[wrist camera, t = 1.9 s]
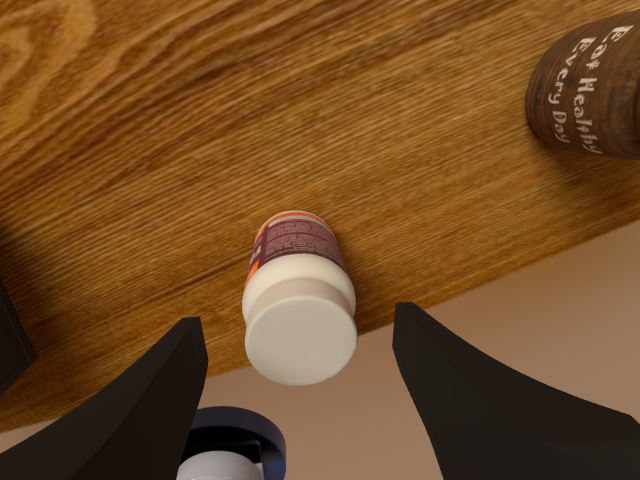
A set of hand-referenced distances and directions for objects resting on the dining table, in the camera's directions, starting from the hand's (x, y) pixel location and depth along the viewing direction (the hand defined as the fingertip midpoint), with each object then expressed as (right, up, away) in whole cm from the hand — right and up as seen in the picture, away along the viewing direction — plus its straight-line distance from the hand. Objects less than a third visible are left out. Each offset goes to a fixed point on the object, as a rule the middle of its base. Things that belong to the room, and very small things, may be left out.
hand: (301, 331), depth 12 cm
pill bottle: (-1, +3, +7) cm, 8 cm away
